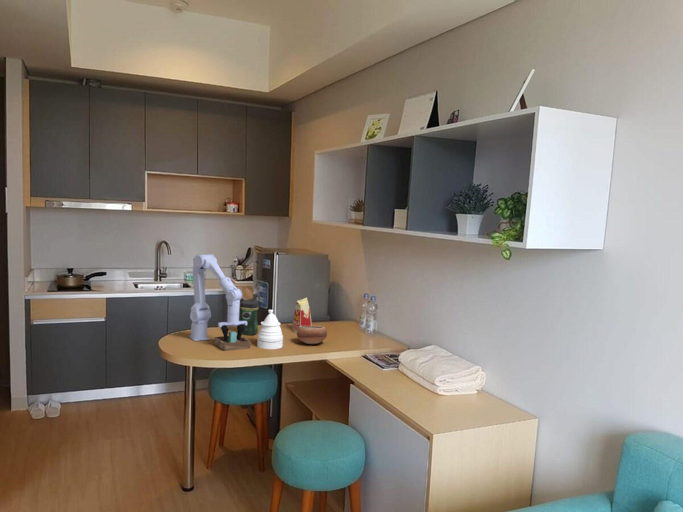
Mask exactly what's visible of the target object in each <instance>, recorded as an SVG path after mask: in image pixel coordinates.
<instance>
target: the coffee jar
mask: <svg viewBox="0 0 683 512" xmlns="http://www.w3.org/2000/svg"><path fill="white" fill-rule="evenodd" d="M259 307H260V306H259V301H257V300H250V299H243V300H241V301H240V308H239V310H240V313H241V314H240V321H247V325H244V326H245V329H244V330H243V332H242V335H245V336H246V335H247V336H253V335H254V336H255V335H257V334H259V332H258V331H259V330H258V311H259Z"/></svg>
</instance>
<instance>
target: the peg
mask: <svg viewBox="0 0 683 512" xmlns="http://www.w3.org/2000/svg"><path fill="white" fill-rule="evenodd" d="M236 336H237V332H236V331H228V343H232V342H236Z"/></svg>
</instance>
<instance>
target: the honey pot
mask: <svg viewBox="0 0 683 512" xmlns="http://www.w3.org/2000/svg"><path fill="white" fill-rule="evenodd" d="M267 311H268V314H267V316H266V317H265V319H264V321H261V322H260V326H261V327H260V328H259V330H258V331H259V332H258V333H257V334H258V335H257V343H256V346H257V348H259V349H264V350H277V349H281V348H283V346H284V345H283V344H284V335H283V331H282V329H281V322H279V320H278V317H277V316H276V314H274V313H273V312H274V309H268V310H267Z"/></svg>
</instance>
